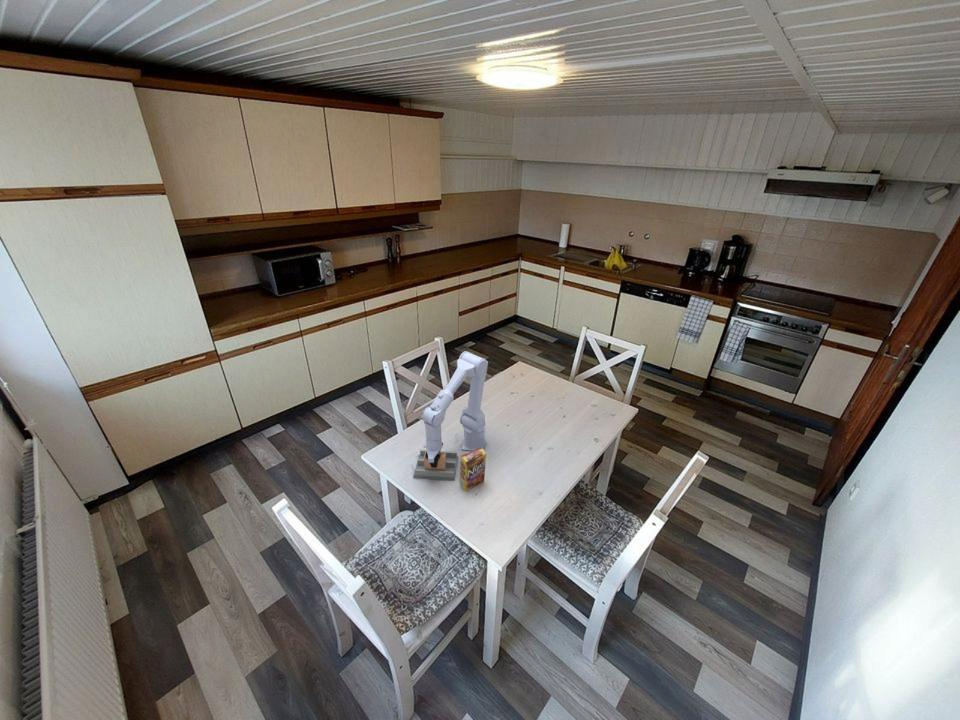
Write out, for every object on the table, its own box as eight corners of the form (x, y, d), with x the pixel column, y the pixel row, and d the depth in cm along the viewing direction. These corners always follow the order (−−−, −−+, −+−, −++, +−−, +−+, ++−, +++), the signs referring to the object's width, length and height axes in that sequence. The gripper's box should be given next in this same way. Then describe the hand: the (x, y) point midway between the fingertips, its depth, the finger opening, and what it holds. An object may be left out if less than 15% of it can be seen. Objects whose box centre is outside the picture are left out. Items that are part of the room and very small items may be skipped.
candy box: (465, 492, 144) (465, 462, 137) (459, 484, 147) (459, 454, 140) (485, 482, 148) (486, 452, 141) (479, 475, 151) (479, 445, 144)
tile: (446, 468, 153) (446, 453, 149) (445, 474, 150) (444, 458, 146) (426, 467, 153) (425, 451, 149) (425, 472, 151) (424, 457, 147)
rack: (458, 458, 159) (458, 451, 158) (454, 480, 149) (454, 473, 147) (419, 455, 160) (419, 449, 158) (413, 477, 150) (412, 470, 148)
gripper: (426, 423, 150) (428, 449, 156) (418, 448, 137) (420, 476, 144) (444, 424, 149) (445, 450, 156) (438, 450, 137) (439, 477, 143)
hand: (434, 463), depth 150 cm, fingers open, 3 cm apart
